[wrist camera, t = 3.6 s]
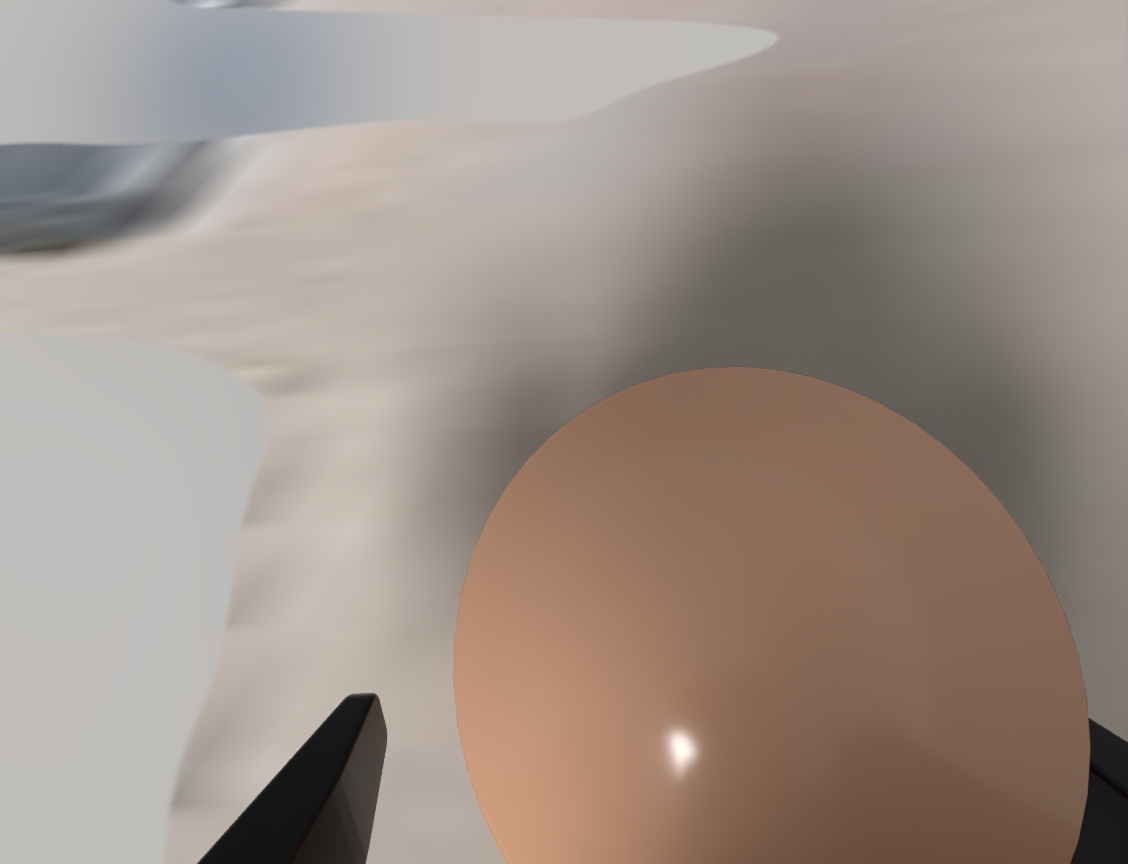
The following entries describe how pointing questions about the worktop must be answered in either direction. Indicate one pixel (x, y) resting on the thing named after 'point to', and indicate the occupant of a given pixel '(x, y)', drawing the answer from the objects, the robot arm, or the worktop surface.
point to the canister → (764, 642)
